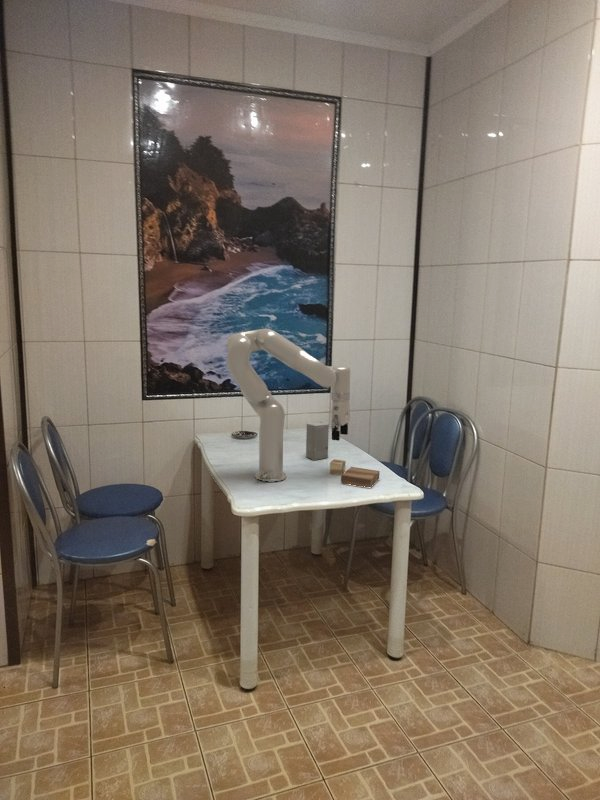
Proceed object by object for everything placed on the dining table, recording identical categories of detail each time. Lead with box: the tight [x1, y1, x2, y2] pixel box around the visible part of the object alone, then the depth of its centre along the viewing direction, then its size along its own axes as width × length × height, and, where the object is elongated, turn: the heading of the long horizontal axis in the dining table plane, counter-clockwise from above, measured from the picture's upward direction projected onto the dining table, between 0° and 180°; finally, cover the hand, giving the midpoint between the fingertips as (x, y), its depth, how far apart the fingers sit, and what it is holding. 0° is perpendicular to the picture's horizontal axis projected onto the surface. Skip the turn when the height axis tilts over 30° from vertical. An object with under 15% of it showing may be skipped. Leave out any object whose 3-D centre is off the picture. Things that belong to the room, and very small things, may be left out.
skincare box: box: [305, 421, 330, 461], centre depth 265 cm, size 8×7×16 cm
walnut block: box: [340, 466, 380, 488], centre depth 236 cm, size 12×12×4 cm
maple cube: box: [329, 458, 347, 476], centre depth 246 cm, size 5×5×5 cm
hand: (339, 437), depth 243 cm, fingers open, 9 cm apart
